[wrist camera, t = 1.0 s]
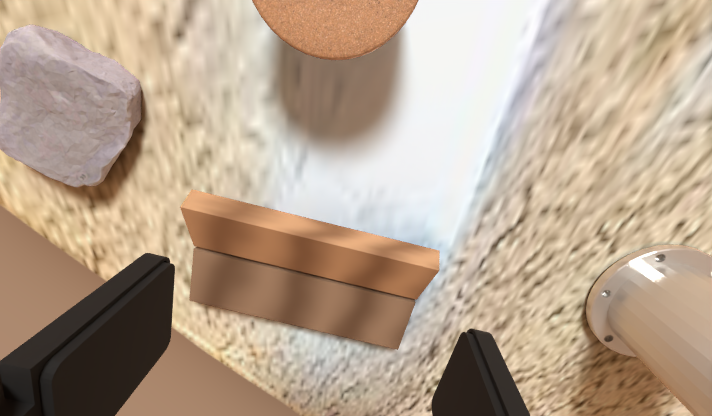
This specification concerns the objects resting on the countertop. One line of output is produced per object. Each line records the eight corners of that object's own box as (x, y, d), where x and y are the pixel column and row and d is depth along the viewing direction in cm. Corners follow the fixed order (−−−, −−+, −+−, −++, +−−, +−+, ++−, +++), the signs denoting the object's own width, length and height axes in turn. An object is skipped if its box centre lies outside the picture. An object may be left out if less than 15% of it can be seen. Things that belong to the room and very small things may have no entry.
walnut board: (412, 291, 35) (415, 302, 33) (396, 336, 37) (397, 349, 35) (203, 240, 34) (193, 249, 32) (199, 289, 36) (189, 300, 34)
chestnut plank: (439, 250, 30) (439, 270, 28) (417, 281, 34) (416, 299, 33) (191, 189, 29) (180, 207, 28) (203, 229, 33) (194, 245, 32)
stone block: (164, 80, 31) (39, 16, 28) (140, 88, 27) (-11, 13, 24) (130, 185, 35) (17, 139, 32) (104, 206, 31) (-28, 156, 28)
